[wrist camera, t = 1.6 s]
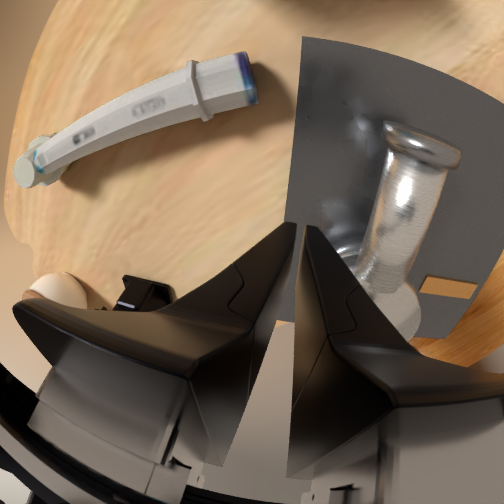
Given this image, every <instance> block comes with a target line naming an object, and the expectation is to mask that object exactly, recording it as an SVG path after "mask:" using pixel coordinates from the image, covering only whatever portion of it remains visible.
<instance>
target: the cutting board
mask: <svg viewBox="0 0 504 504" xmlns="http://www.w3.org/2000/svg"><path fill="white" fill-rule="evenodd" d="M384 121H393V122H398V123H402V124H406V125H409V126H412V127H416V128H419V129H421V130H424V131H427V132H429V133H432V134H434V135H437V136H439V137H441V138H443V139H445V140H447V141H449V142H451V143H453V144H455V145H456V146H458V147H459V148H461V149H462V150H463V153H462V157H461V160H460V164H459V167H458V169H457V170H451V169H449V170H448V173H447V177H446V180H445V183H444V186H443V189H442V192H441V195H440V198H439V201H438V204H437V207H436V209H435V212H434V215H433V218H432V220H431V223H430V225H429V228H428V230H427V233H426V235H425V238H424V240H423V242H422V245H421V247H420V249H419V252H418V254H417V256H416V258H415V261H414V263H413V265H412V267H411V269H410V271H409V275H410V277H411V280H412V283H413V286H414V289H415V292H416V295H417V299H418V302H419V306H420V309H421V321H420V325H419V327H418V330H417V331H416V333H415V334H414V336H413V337H425V338H441V339H445V338H446V337H447V336H448V335H449V333H450V332H451V331H452V330H453V328H454V327H455V326H456V324H457V323H458V322H459V320H460V319H461V318H462V316H463V315H464V313H465V312H466V311H467V309H468V308H469V306H470V305H471V303H472V302H473V300H474V299H475V297H476V296H477V294H478V293H479V291H480V290H481V288H482V286H483V285H484V283H485V282H486V280H487V278H488V277H489V275H490V273H491V271H492V270H493V268H494V266H495V264H496V263H497V261H498V259H499V257H500V255H501V253H502V251H503V249H504V104H503V103H501V102H500V101H498V100H496V99H495V98H493V97H491V96H489V95H488V94H486V93H484V92H482V91H480V90H479V89H477V88H475V87H473V86H471V85H469V84H467V83H465V82H463V81H461V80H458V79H456V78H454V77H452V76H450V75H447V74H445V73H443V72H440V71H438V70H435V69H433V68H430V67H428V66H425V65H423V64H420V63H417V62H414V61H411V60H408V59H405V58H402V57H399V56H396V55H392V54H389V53H386V52H382V51H378V50H374V49H371V48H366V47H362V46H358V45H353V44H348V43H343V42H338V41H332V40H326V39H319V38H312V37H304V36H302V49H301V62H300V75H299V86H298V98H297V108H296V119H295V129H294V139H293V148H292V158H291V167H290V175H289V184H288V192H287V201H286V209H285V217H284V222H285V221H288V222H294V223H296V224H297V231H296V240H295V246H294V251H293V257H292V263H291V269H290V274H289V280H288V285H287V289H286V292H285V296H284V299H283V302H282V305H281V308H280V311H279V314H278V317H277V320H281V321H287V322H294V323H295V287H296V279H297V272H298V265H299V257H300V250H301V244H302V238H303V233H304V228H305V225H313V226H317V227H318V228H319V229H320V230H321V232H322V233H323V234H324V235H325V237H326V238H327V239H328V241H329V242H330V243H331V245H332V246H333V247H334V248H335V250H336V251H337V252H338V254H339V255H340V256H341V258H343V257H347V256H351V255H358V254H359V252H360V249H361V246H362V242H363V239H364V236H365V233H366V230H367V226H368V223H369V220H370V216H371V213H372V209H373V206H374V202H375V199H376V195H377V191H378V187H379V183H380V180H381V175H382V171H383V167H384V163H385V159H386V154H387V149H388V145H387V144H385V143H384V142H382V141H381V139H380V138H381V133H382V128H383V122H384Z"/></svg>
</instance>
